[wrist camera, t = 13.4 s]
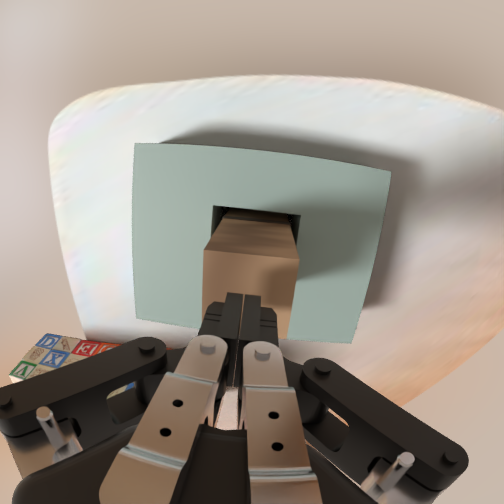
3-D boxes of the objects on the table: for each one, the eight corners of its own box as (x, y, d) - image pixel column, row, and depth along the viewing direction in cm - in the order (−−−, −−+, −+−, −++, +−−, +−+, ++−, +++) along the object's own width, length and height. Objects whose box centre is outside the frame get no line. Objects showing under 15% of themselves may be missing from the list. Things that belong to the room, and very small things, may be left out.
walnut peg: (285, 209, 26) (300, 258, 14) (279, 260, 27) (287, 339, 16) (231, 203, 26) (202, 248, 14) (227, 255, 27) (200, 330, 16)
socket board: (369, 166, 24) (391, 171, 19) (339, 313, 29) (351, 343, 24) (158, 143, 24) (134, 143, 19) (154, 292, 29) (136, 318, 24)
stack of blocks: (61, 369, 34) (17, 427, 22) (46, 331, 32) (-8, 388, 20) (209, 391, 33) (189, 478, 21) (203, 349, 31) (176, 442, 19)
